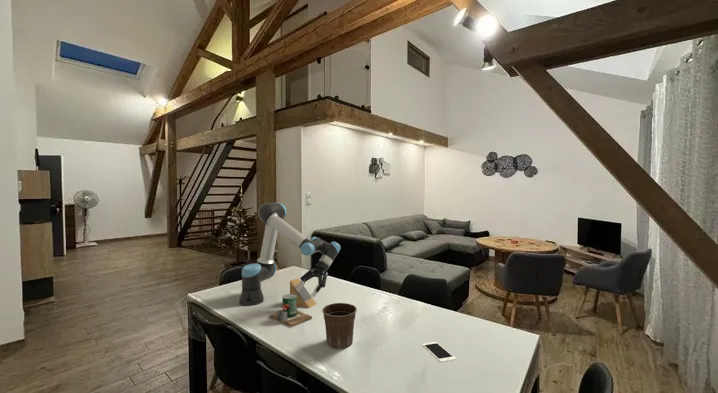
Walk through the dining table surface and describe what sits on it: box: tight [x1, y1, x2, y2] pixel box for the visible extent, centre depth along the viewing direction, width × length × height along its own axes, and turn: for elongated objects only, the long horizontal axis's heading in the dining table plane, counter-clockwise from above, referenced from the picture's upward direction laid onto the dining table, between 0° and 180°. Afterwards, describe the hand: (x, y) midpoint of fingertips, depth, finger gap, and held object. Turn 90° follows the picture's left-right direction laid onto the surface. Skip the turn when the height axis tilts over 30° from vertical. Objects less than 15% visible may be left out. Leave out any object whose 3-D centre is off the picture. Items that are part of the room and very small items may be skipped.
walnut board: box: [269, 309, 313, 328], centre depth 175 cm, size 20×14×6 cm
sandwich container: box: [289, 277, 317, 309], centre depth 198 cm, size 9×15×15 cm, turn 63°
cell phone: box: [421, 341, 457, 363], centre depth 139 cm, size 8×16×1 cm, turn 18°
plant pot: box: [321, 302, 358, 350], centre depth 146 cm, size 16×16×16 cm
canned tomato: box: [282, 293, 298, 318], centre depth 175 cm, size 8×8×11 cm
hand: (304, 293), depth 182 cm, fingers open, 13 cm apart
